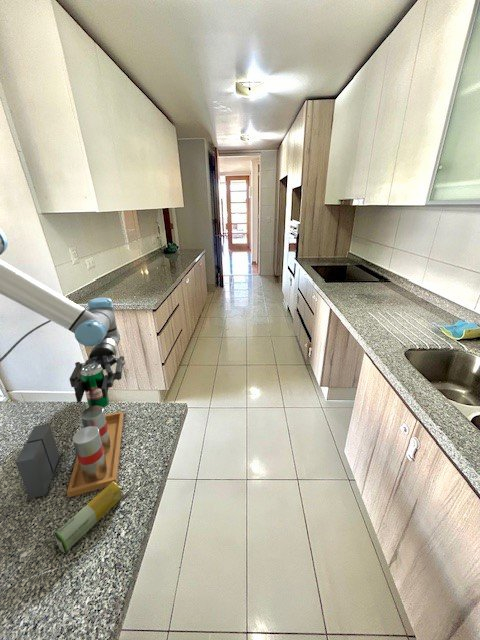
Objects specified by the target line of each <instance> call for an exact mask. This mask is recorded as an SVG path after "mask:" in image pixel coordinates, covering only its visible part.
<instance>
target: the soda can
mask: <svg viewBox="0 0 480 640" xmlns="http://www.w3.org/2000/svg"><path fill="white" fill-rule="evenodd" d="M104 376H105V374H104V370H103V368H102V367H101V366H100V364H97V363H93V364H88V365H86V366H84V367H83V368H82V372H81V377H82V381H83V385H84V389H85V392H84V394H85V397H86V401H87V405H88V408H89V407H91V406H102V407H103V409H104V408H106V407H107V406H108V405H109V403H110V397H109V393H107V397H106V398H103V395H102V390H101V388H102V384H103V380H104Z"/></svg>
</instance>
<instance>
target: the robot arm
mask: <svg viewBox="0 0 480 640" xmlns="http://www.w3.org/2000/svg"><path fill="white" fill-rule="evenodd" d="M8 243H9V242H8V237H7V235H6V233H5V232H4V230H3V229H2V228H1V227H0V256H1V255H2V254H3V253H5V252H6V250H7V249H8V245H9V244H8ZM0 295H2V296H4V297H5V298H6V299H7V298H8V299H9V300H12V302H15V303H17V304H18V305H20V306H23V307H25V308H27V310H30V311H32V312H34V313H36V314H38V315H40V316H41V317H43V318H45V319H47V321H45V322H43V323H41V324H39V325H38V326H36V327H34V328H33V329H31V330H30V331H28V332H27V333H26V334H24V335H23V336H21V338H19V339H18V340H17V341H16V342H15V343H14V344H13V345H12V346H11V347H10V349H8V350H7V351H6V353H4V355H3V356H1V358H0V363H1V362H2V361H3V360H4V359H6V357H7V356H8V355H9V354H10V353H12V351H13V350H14V349H15V347H17V346H18V345H19V344H20V343H21V342H23V340H24V339H25V338H26V337H28V336H29V335H30V334H32V333H33V332H35V331H36V330H38V329H40V328H42V327H44V326H45V325H47V324H49V323H51V322H53V323H54V324H56V325H58V326H60V327H62V328H64V329H66V330H68V331H69V332H71V333H73V334H74V338H75V339H76V341H77V342H78V344H80V345H82V346H84V347H92V348H91V350H90V353H89V356H88V359H87V360H85V362H80V361H76V362H75V363H74V365H75V367H74V368H73V371H72V373H71V374H70V377H69V378H68V379H69V383H70V387H71V388H73V389H74V395H75V399H76V403H78V404H79V403H82V400H83V397H84V395H85V389H84V385H83V381H82V377H81V372H82V368H83V367H84V366H86V365H88V364H93V363H97V364H100V366H101V367H102V368H103V371H105V373H106V375H105V374H104V380H103V384H102V388H101V390H102V395H103V398H106V397H107V393H108V391H109V389H110V388H112V387H113V386H114V382H115V381H116V380H117V381H120V380H122V377H123V368H124V366H125V364H126V360H125V356H124V355H121V356H119V357H117V354H118V349H119V343H120V341H121V336H120V335H121V334H120V331H119V330H118V327H117V321H116V314H115V306H114V304H113V300H112V299H111V298H109V297H96V298H92V299H90V300H88V302H87V309H88V310H87V309H86V308H84V307H82V306H80V305H79V304H77V303H75V302H74V301H72V300H71V299H69V298H68V297H66V296H64V295H62V294H60V293H58V292H56V291H55V290H53V289H52V288H50V287H48V286H46V285H45V284H44V283H41V282H40V281H38V280H36V279H34V278H33V277H31V276H30V275H28V274H27V273H24V272H23V271H22V270H19V269H18V268H16V267H14V266H13V265H11V264H9V263H7V262H6V261H3V260H2V259H1V258H0ZM115 364H116V366H115V371H114V372H113V369H112V366H114V365H115ZM108 394H109V393H108Z"/></svg>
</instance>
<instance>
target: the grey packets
mask: <svg viewBox="0 0 480 640" xmlns="http://www.w3.org/2000/svg"><path fill="white" fill-rule="evenodd" d="M59 460H60V453H59V448H58V446H57V443H56V440H55V436H54V433H53V430H52V427H51V424H50V423H49V422H48V423H43V424H39V425H34V426H33V429H32V431H30V434H29V436H28V438H27V440H26V443H25V444H24V446H23V447H22V449H21V451H20V453H19V455H18V457H17V459H16V460H15V466H16V468H17V470H18V473H19V475H20V477H21V480H22V483H23V486H24V488H25V490H26V493H27V495H28V498H29V500H30V499H35V498H38V497H42V496H45V495H47V493H48V490H49V488H50V485H51V482H52V479H53V476H54V473H55V471H56V468H57V466H58V462H59Z"/></svg>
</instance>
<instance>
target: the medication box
mask: <svg viewBox="0 0 480 640" xmlns="http://www.w3.org/2000/svg"><path fill="white" fill-rule="evenodd" d="M122 498H123V496H122V490H121V486H120V485H119V484H118V482H117V483H115V482H114V481H113V482H112V483H110V484H109V485H108V486H107V487H104V488H103V489H102V490H101V491H100V492H99V493H98V494H97V495H95V496H94V497H93V498H92V499H91V500H90V501H89V502H88V503H87V504H86V505H85V506H83V507H82V508H81V509H80V510H79V511H78V512H77V513H76V514H74V515H73V516H72V517H71V518H70V519H69V520H68V521H67V522H65V523H64V524H63V525H62V526H61V527H60V528H59V529H58V530H57V531H55V532H54V533H53V537H54V538H55V542H56V545H57V547H58V549H59V550H60V551H61V552H62V553H63V554H65V553H67V552H68V551H69V550H70V549H71V548H72V547H73V546H74V545H75V544H76V543H78V541H79V540H80V539H81V538H82V537H83V536H85V534H86V533H88V532H89V530H91V529H92V528H93V527H94V526H95V525H96V524H97V523H98V522H99V521H100V520H101V519H102V518H103V517H104V516H105V515H106V514H107V513H108V512H109V511H110V510H112V508H114V506H115V505H116V504H118V503H119V502H120V500H121V499H122Z"/></svg>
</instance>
